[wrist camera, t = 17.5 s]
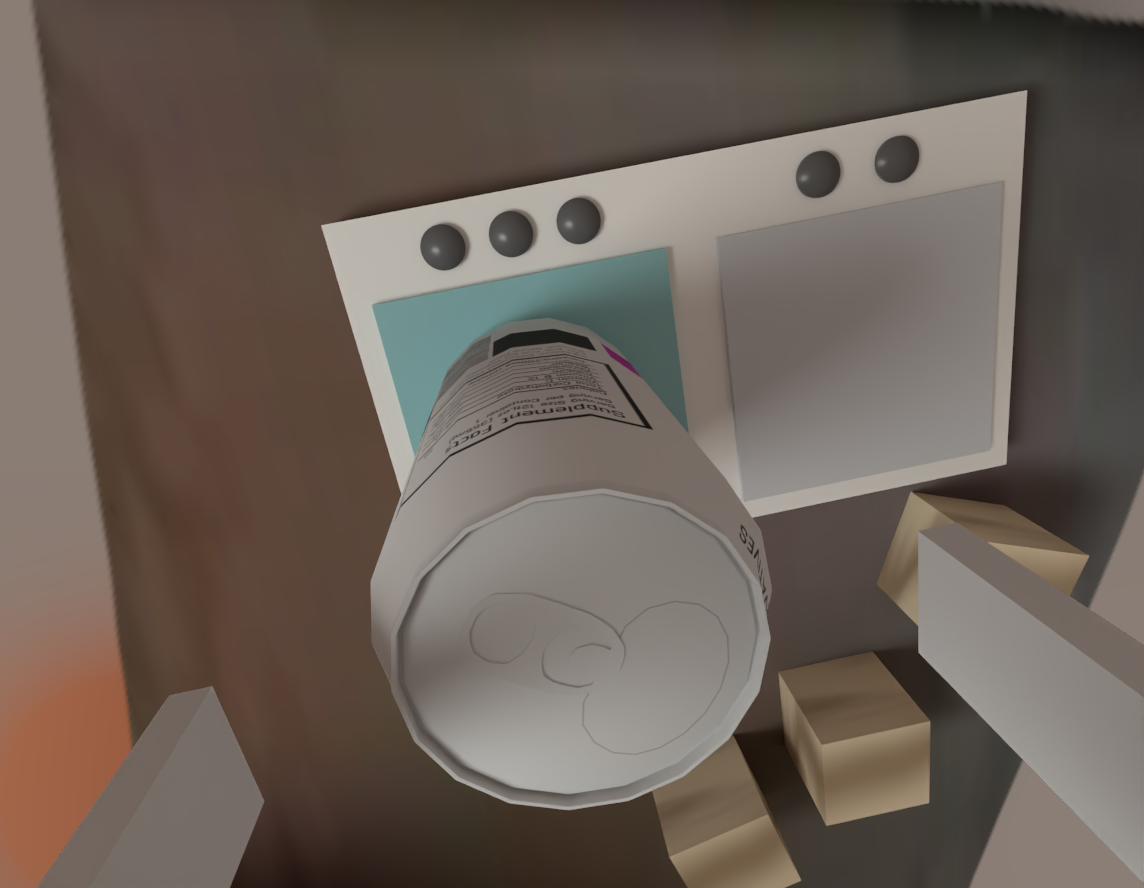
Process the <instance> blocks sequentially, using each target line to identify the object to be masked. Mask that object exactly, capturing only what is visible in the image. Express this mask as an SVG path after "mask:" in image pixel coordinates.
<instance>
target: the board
mask: <svg viewBox="0 0 1144 888" xmlns="http://www.w3.org/2000/svg"><path fill="white" fill-rule="evenodd" d="M1026 103H1027V90H1025V91H1020V92H1015V93H1010V94H1005V95H999V96H994V97H989V98H984V99H978V100H973V101H968V102H963V103H958V104H952V105H947V106H942V107H937V108H931V109H926V110H921V111H916V112H911V113H905V114H900V115H895V116H890V117H885V118H879V119H874V120H869V121H864V122H858V123H853V124H848V125H843V126H838V127H832V128H827V129H822V130H817V131H812V132H806V133H801V134H796V135H791V136H785V137H780V138H775V139H770V140H765V141H759V142H754V143H749V144H744V145H738V146H733V147H728V148H723V149H718V150H712V151H707V152H702V153H697V154H692V155H686V156H681V157H676V158H671V159H665V160H660V161H655V162H650V163H645V164H639V165H634V166H629V167H624V168H619V169H613V170H608V171H603V172H598V173H592V174H587V175H582V176H577V177H572V178H566V179H561V180H556V181H551V182H545V183H540V184H535V185H530V186H525V187H519V188H514V189H509V190H504V191H499V192H493V193H488V194H483V195H478V196H472V197H467V198H462V199H457V200H452V201H446V202H441V203H436V204H431V205H426V206H420V207H415V208H410V209H405V210H399V211H394V212H389V213H384V214H379V215H373V216H368V217H363V218H358V219H352V220H347V221H342V222H337V223H332V224H326V225H321V226H322V229H323V233H324V236H325V240H326V243H327V246H328V250H329V253H330V256H331V260H332V263H333V266H334V270H335V273H336V276H337V280H338V283H339V286H340V290H341V293H342V296H343V300H344V303H345V307H346V310H347V313H348V317H349V320H350V323H351V327H352V330H353V333H354V337H355V340H356V343H357V347H358V350H359V353H360V357H361V360H362V363H363V367H364V370H365V374H366V377H367V380H368V384H369V387H370V390H371V394H372V397H373V400H374V404H375V407H376V410H377V414H378V417H379V420H380V424H381V427H382V430H383V434H384V437H385V440H386V444H387V447H388V451H389V454H390V457H391V461H392V464H393V467H394V471H395V474H396V477H397V481H398V484H399V487H400V491H401V494H402V492H403V489H404V486H405V483H406V481H407V478H408V475H409V472H410V469H411V466H412V464H413V461H414V458H415V455H416V452H417V450H418V447H419V444H420V441H421V438H422V435H423V433H424V430H425V427H426V424H427V421H428V419H429V416H430V413H431V410H432V407H433V404H434V402H435V399H436V397H437V394H438V392H439V389H440V387H441V384H442V382H443V380H444V377H445V375H446V372H447V370H448V367H449V366H450V365H451V364H452V363H453V362H454V361H455V360H456V359H457V358H458V357H459V356H460V354H461V353H462V352H463V351H464V350H465V349H466V348H467V347H468V346H469V345H470V344H471V343H472V342H473V341H474V340H475V339H476V338H478V337H480V336H482V335H484V334H486V333H488V332H490V331H492V330H494V329H497V328H499V327H501V326H503V325H505V324H507V323H509V322H513V321H523V320H532V319H541V318H552V319H556V320H560V321H564V322H568V323H572V324H576V325H580V326H584V327H587V328H589V329H590V330H592V331H593V332H594V333H596V334H597V335H599V336H600V337H602V338H603V339H605V340H606V341H608V342H609V343H610V344H612V345H613V346H615V347H616V348H618V349H619V351H620V352H621V353H622V354H623V356H624V357H625V358H626V359H627V360H628V362H629V363H630V364H631V365H632V366H633V368H634V369H635V370H636V371H637V372H638V374H639V375H640V376H641V377H642V378H643V380H644V381H645V382H646V383H647V384H648V386H649V387H650V388H651V389H652V390H653V392H654V393H655V394H656V395H657V396H658V398H659V399H660V400H661V401H662V402H663V404H664V405H665V406H666V407H667V409H668V410H669V411H670V412H671V413H672V415H673V416H674V417H675V418H676V419H677V421H678V422H679V423H680V424H681V425H682V427H683V428H684V429H685V430H686V431H687V433H688V434H689V435H690V436H691V437H692V439H693V440H694V441H695V442H696V443H697V445H698V446H699V447H700V448H701V449H702V451H703V452H704V453H705V454H706V455H707V457H708V458H709V459H710V460H711V461H712V463H713V464H714V465H715V466H716V468H717V469H718V470H719V471H720V472H721V474H722V475H723V476H724V477H725V478H726V480H727V481H728V483H729V484H730V486H731V487H732V489H733V490H734V492H735V493H736V495H737V496H738V498H739V499H740V501H741V502H742V503H743V505H744V506H745V508H746V509H747V511H748V512H749V514H750V515H751V517H752V518H753V517H757V516H762V515H767V514H772V513H776V512H781V511H786V510H791V509H796V508H800V507H805V506H810V505H815V504H819V503H824V502H829V501H834V500H839V499H843V498H848V497H853V496H858V495H862V494H867V493H872V492H877V491H882V490H886V489H891V488H896V487H901V486H906V485H910V484H915V483H920V482H925V481H929V480H934V479H939V478H944V477H949V476H953V475H958V474H963V473H968V472H972V471H977V470H982V469H987V468H992V467H996V466H1001V465H1006V460H1007V442H1008V424H1009V406H1010V388H1011V371H1012V353H1013V335H1014V317H1015V299H1016V281H1017V263H1018V246H1019V228H1020V210H1021V192H1022V174H1023V156H1024V138H1025V121H1026Z"/></svg>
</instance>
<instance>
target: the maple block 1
mask: <svg viewBox="0 0 1144 888" xmlns="http://www.w3.org/2000/svg"><path fill="white" fill-rule="evenodd" d="M652 792H653V796H654V799H655V803H656V807H657V811H658V815H659V819H660V823H661V827H662V831H663V835H664V839H665V843H666V846H667V850H668V854H669V858H670V859H671V861H672V863H673V864H674V866H675V868H676V869H677V871H678V873H679V874H680V876H681V877H682V879H683V881H684V882H685V884H686V886H687V887H688V888H785V887H787V886H790V885H792V884H794V883H797V882H799V881H801V879H800V877H799V874H798V872H797V870H796V868H795V865H794V863H793V861H792V859H791V856H790V854H789V852H788V850H787V847H786V845H785V843H784V841H783V838H782V836H781V834H780V832H779V829H778V827H777V825H776V822H775V820H774V818H773V816H772V813H771V811H770V809H769V807H768V804H767V802H766V800H765V798H764V796H763V794H762V792H761V790H760V788H759V786H758V784H757V782H756V780H755V778H754V776H753V774H752V772H751V770H750V768H749V766H748V764H747V762H746V760H745V758H744V756H743V754H742V752H741V750H740V748H739V746H738V744H737V742H736V740H735V738H734V736H733V735H731V737H730V738H729V740H727V741H726V742H725V743H724V744H723V745H721V746H720V747H719V748H718V749H716V750H715V751H714V752H713V753H712V754H710V755H709V756H708V757H707V758H706V759H704V760H703V761H702V762H701V763H700V764H698V765H697V766H696V767H695V768H694V769H692V770H691V771H690V772H689V773H687V774H686V775H685V776H684V777H682V778H679V779H677V780H675V781H673V782H670V783H668V784H666V785H664V786H661V787H659V788H657V789H655V790H652Z"/></svg>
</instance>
